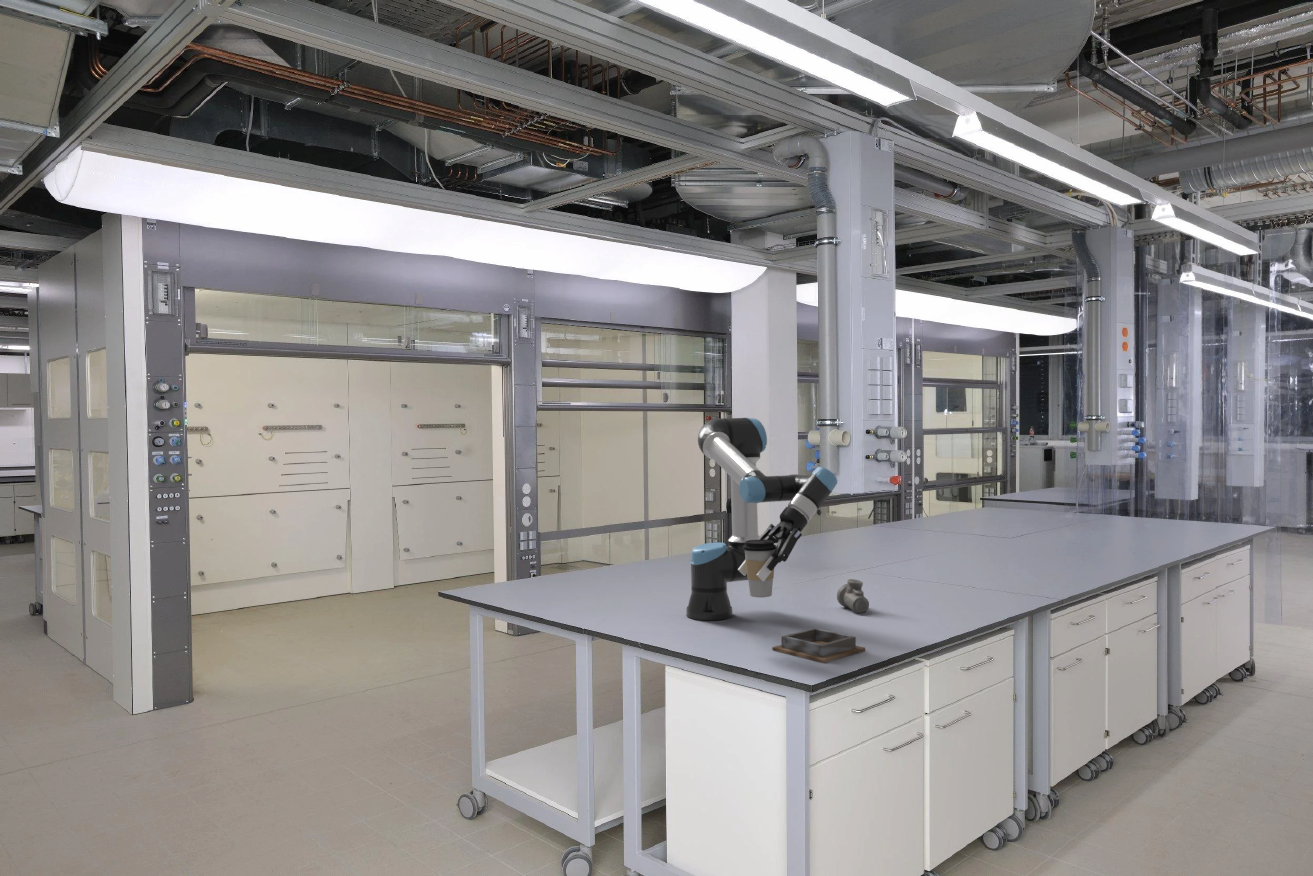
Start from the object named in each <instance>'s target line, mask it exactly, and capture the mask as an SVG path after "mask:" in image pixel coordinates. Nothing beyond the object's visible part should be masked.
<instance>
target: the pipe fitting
mask: <svg viewBox="0 0 1313 876" xmlns="http://www.w3.org/2000/svg"><path fill="white" fill-rule="evenodd" d="M863 584H864V582H863V581H861V580H859V579H853V578H850V579H847V583H846V584H843V585H841V586H840V587H839V588H838V590H837V593H836V600H837V602H838V603H839V605H840V606H842V607H843V608H846V609H849V610H850V609H851V610H852V611H853V612H854V613H855V614H858V615H863V614H865V613H866V612H867V611H868V610H869V607H870V601H869V599H868V598H866V597H865V594H864V591H863V590H862V587H863Z"/></svg>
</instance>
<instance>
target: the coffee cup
mask: <svg viewBox="0 0 1313 876" xmlns="http://www.w3.org/2000/svg"><path fill="white" fill-rule="evenodd" d="M776 546H777V544H775V543H774V541H772V540H748V541H745V545H743V550H745V558H746V559H745V562H746V570H747V578H748V580H747V581H748V588H749V594H750V597H753V598H758V599H759V598H763V599H764V598H769V597H771V596H773V582H774V575H775V568H774V569H773V570H772V572H771V573H770V574H769V575H768V577H767V578H766V579H765V581H762V580H761V579H760V578H759V577H758V576H757V575H756V574H757V573H758V572H759V570H760V569H761V568H762V567H763V565H764V564H765V563H766V561H767V560H768V559H769V557H770V556H771V557H773V556H772V555H771V554H773V553H774V552H775V549H776ZM773 558H774V557H773Z"/></svg>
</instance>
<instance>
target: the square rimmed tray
mask: <svg viewBox="0 0 1313 876" xmlns="http://www.w3.org/2000/svg"><path fill="white" fill-rule="evenodd" d="M780 637H781V641H780V642H781V644H779V645H775V646H772V647H771V648H772V649H771V650H772V651H774V652H775V651H776V652H779V653H782V654H787V655H791V656H794V657H799V658H803V659H806V660H811V661H814V662H819V663H823V664H825V663H828V662H831V661H835V660H838V659H841V658H845V657H848V656H851V655H855V654H859V653H862V652H864V651H866V647H864V646H859V645H857V643H856V641H857V638H856V636H854V635H849V634H845V633H839V632H835V631H831V630H825V629H822V628H817V627H812V628H809V629H806V630H801V631H797V632H793V633H789V634H786V635H781V636H780Z"/></svg>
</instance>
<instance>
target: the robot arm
mask: <svg viewBox="0 0 1313 876" xmlns="http://www.w3.org/2000/svg"><path fill="white" fill-rule="evenodd" d="M697 444H698V448H699V450H700V451H701V453H702V454H703V455H704V456H705V457H706V458H708V459H709V460H714V462H715V463H717V465H718V466H720V467H721V469H722V470H723V471H725V473H726V474H728V475H729V477H730V495H731V496H730V499H731V501H730V502H731V506H730V507H731V529H732V531H731V533H732V534H731V536H730V537H729V538H728V539H727V544H726V543H725V542H707V543H701V544H699V545H696V546H695V547H693V548H692V550H691V551H690V552H691V553H690V554H691V555H690V575H691V576H690V577H691V579H690V580H691V581H690V583H691V585H690V586H691V592H690V593H691V594H690V597H689V600H688V605H687V606H686V608H685V609H686V611H685V613H686V617H687V618H689V619H693V620H699V621H722V620H726V619H730V618H732V617H733V606H732V605H731V601H730V598H729V594H728V586H727V585H728V584H727V583H731V582H742V581H748V578H747V570H746V562H745V559H746V558H745V550H743V545H745V541H748V540H772V541H774V544H776V549H775V552H774V553H773V554H771V555H772V556H773V557H774V558H773V557H771V556H770V557H769V559H768V560H767V561H766V563H765V564H764V565H763V567H762V568H761V569H760V570H759V572H758V573H757V574H756V575H757V576H758V577H759V578H760V579H761V580H762V581H765V579H766V578H767V577H768V575H769V574H770V573H771V572H772V570H773V569H774V570H775V568H776V566H777V565H778V564H780V563H781V562H784V563H785V562H787V560H788V559H789V557H790V555H791V553H792V551H793V549H794V548H795V546H796V544H797V542H798V541H799V539H801V537H802V535H803V534H802V533H801V532H802V531H803V530H804V529H805V527H806V526H807V525H808V522H809V521H811V520H812V518H813V517H814V515H815V514H816V512H817V511H818V510H819V509H820V508H821V506H822V504H823V503H824V502H825V501H826V500H827V499H828V497H829V496H830V494H832V492H833V491H834V489H835V488H836V486H837V484H838V479H837V476H836V475H835V474H834V473H833V472H832V471H831V470H830V469H828V468H825V467H824V466H818V467H816V468H814V470H813V471H812V473H811V474H806V475H805V474H795V473H794V474H788V475H766V474H764V472H762V471H761V470H760V468H758V467H757V462H758V461H759V460H761V453H763V452H764V451H765V450H766V448H767V447H766V446H767V445H768V436H767V431H766V429H765V426H764V425H763V423H762V422H761V421H760V420H759V419H757V418H754V417H731V418H729V417H728V418H727V417H725V418H722V417H721V418H719V417H718V418H713V419H711V420H709V421H707V422H706V423H704V424H703V426H702V427H701V428H700V430H699V432H698V435H697ZM771 502H772V503H774V502H775V503H776V502H789V503H788V504H787V506H785V508H784V509H783V510H782V512H781V513H780V514H779V519H780V520H779V522H778V523H777V524H776V525H774V524H773V523H770V524H769V525H768V527H767V528H766V529H765V531H764V532H763V533H762V534H761V535H759V524H758V523H759V521H758V517H759V516H758V504H760V503H771Z"/></svg>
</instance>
